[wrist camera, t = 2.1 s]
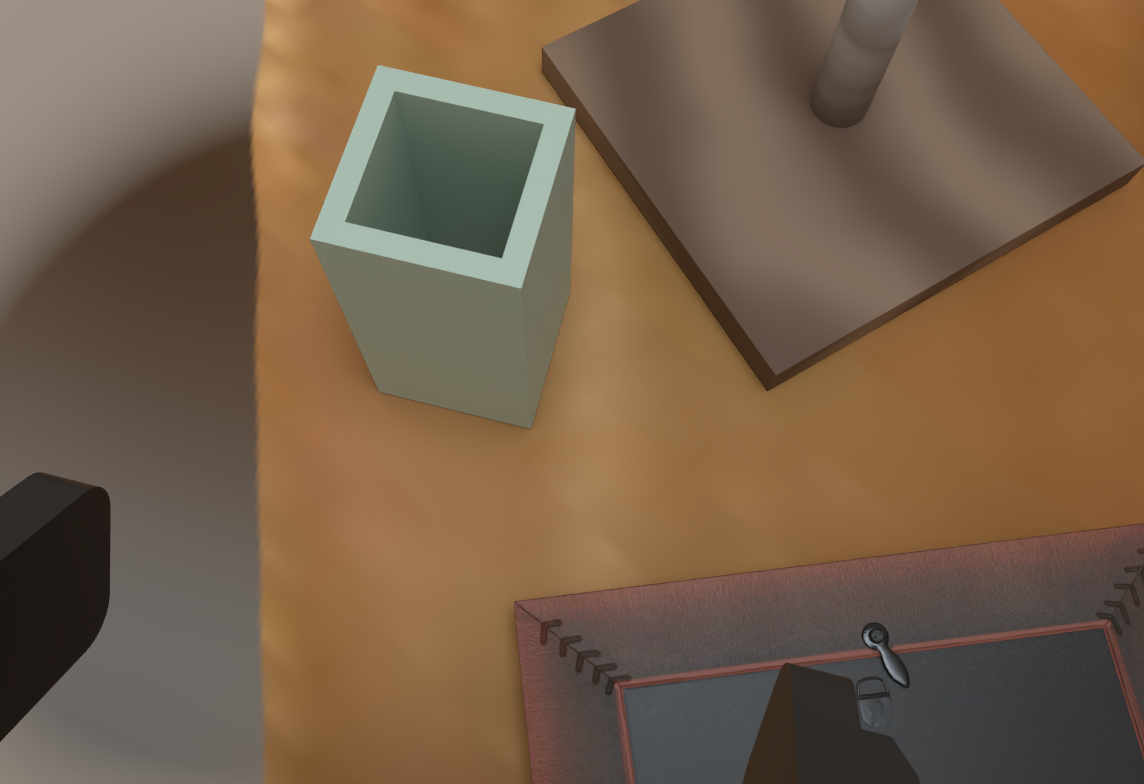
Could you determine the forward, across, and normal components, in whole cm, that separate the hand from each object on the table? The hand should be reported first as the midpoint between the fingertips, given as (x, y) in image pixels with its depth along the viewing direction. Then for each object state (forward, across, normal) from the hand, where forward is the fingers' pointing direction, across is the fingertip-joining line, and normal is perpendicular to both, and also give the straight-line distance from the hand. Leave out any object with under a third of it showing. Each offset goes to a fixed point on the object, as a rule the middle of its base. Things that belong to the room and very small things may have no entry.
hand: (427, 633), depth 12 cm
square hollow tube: (+25, +4, +6) cm, 26 cm away
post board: (+33, -7, -2) cm, 34 cm away
